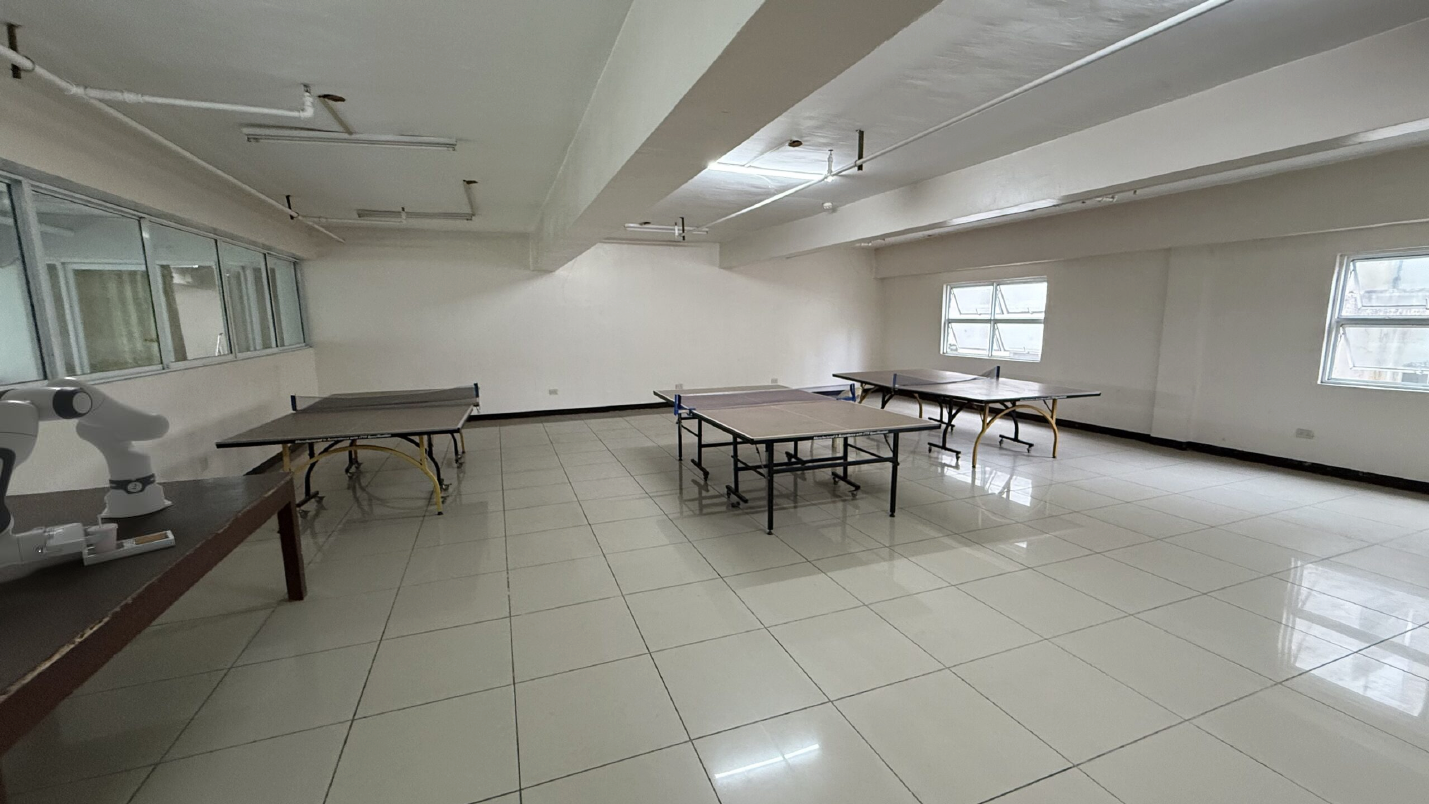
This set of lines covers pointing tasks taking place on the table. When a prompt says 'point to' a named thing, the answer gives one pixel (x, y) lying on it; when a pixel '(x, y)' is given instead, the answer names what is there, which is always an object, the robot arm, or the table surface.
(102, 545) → the smoothie
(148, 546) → the cup holder
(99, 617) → the table surface
